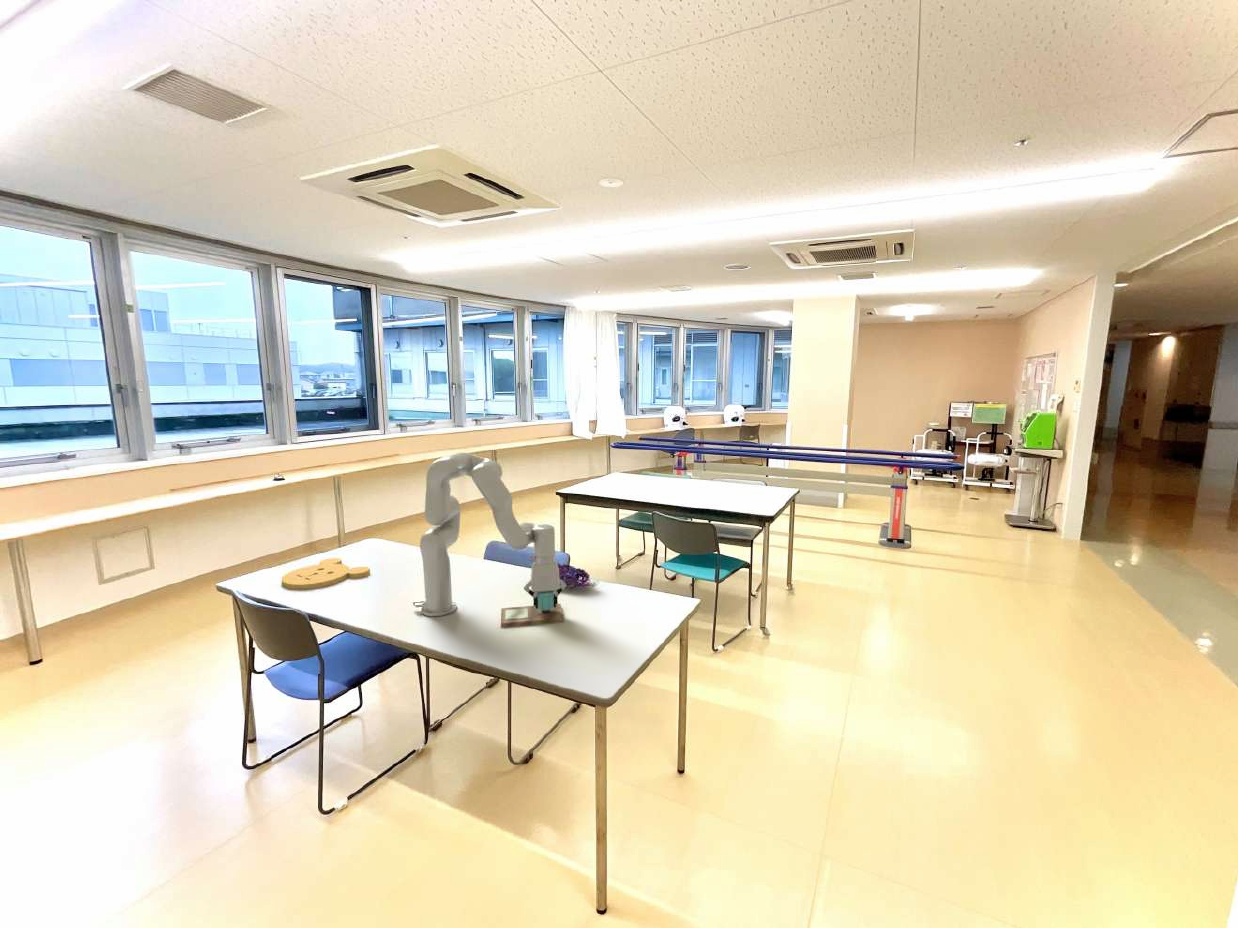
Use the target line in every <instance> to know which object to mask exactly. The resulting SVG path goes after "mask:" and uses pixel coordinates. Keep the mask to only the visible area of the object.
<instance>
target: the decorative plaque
mask: <svg viewBox="0 0 1238 928" xmlns="http://www.w3.org/2000/svg"><path fill="white" fill-rule="evenodd" d="M318 563H319V564H313V565H309V566H304V567H300V568H298V569H297V568H296V569H294V570H291V571H289V572H288V573H285V574H284V575H282V577H281V586H283V588H285V589H288V590H289V589H290V590H296V591H297V590H298V591H299V590H300V591H303V590H304V591H305V590H314V589H321V588H326V587H329V586H333V585H337V584H338V583H342V582H343V581H345V580H347V579H355V580H356V579H362V578H365V577H369V576H370V574H371V569H370V567H369V566H356V567H351V568H350V566H348V565H346V564H343V563H342V559H341V558H339V557H330V558H326V559H323V560H320V561H319V562H318Z"/></svg>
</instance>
